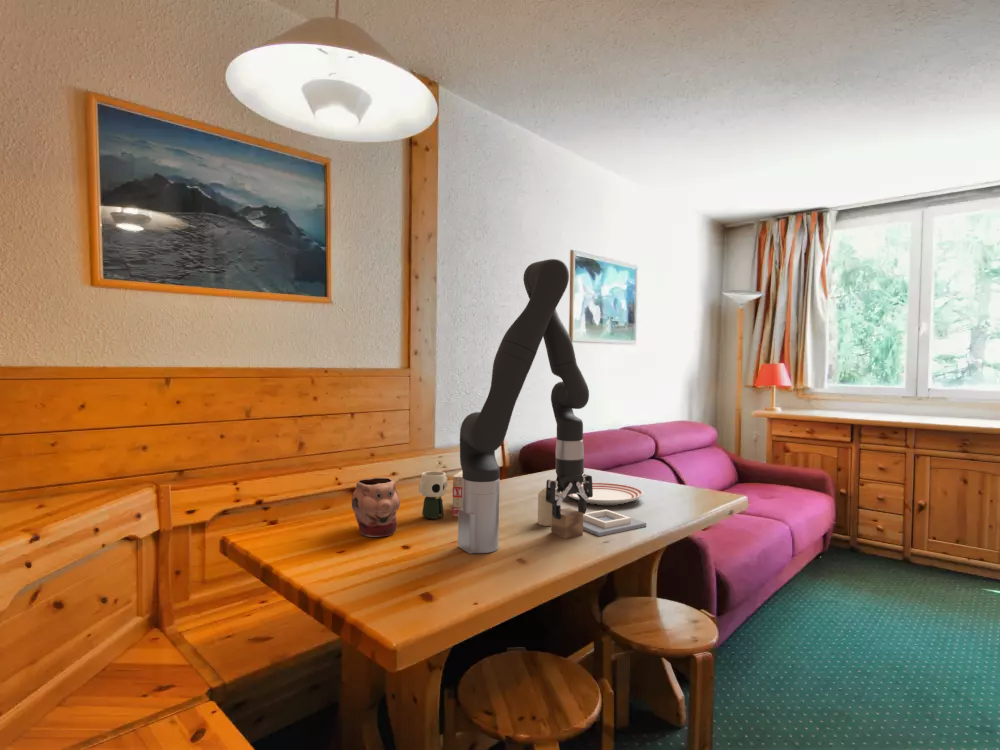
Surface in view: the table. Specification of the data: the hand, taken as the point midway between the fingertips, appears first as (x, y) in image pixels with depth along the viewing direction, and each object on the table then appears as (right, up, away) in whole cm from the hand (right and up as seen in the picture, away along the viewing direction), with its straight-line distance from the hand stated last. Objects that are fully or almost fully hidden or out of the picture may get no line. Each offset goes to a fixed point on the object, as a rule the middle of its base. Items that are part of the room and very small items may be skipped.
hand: (569, 516), depth 146 cm
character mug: (-38, -4, +13) cm, 41 cm away
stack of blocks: (-28, -4, +24) cm, 37 cm away
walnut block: (-1, -5, 0) cm, 5 cm away
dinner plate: (+16, -5, +39) cm, 43 cm away
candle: (-5, -5, +9) cm, 12 cm away
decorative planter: (-52, -4, -1) cm, 52 cm away
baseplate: (+11, -5, +9) cm, 15 cm away
